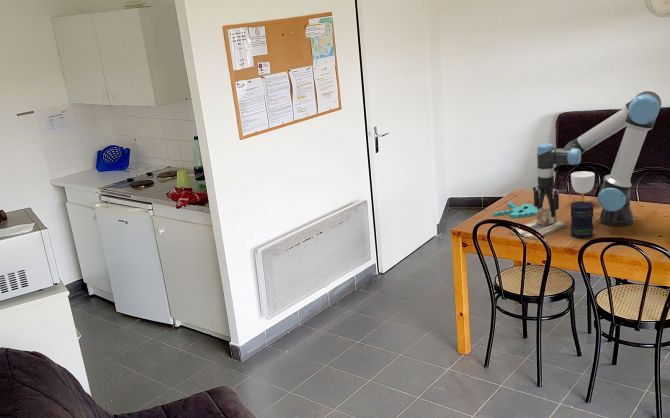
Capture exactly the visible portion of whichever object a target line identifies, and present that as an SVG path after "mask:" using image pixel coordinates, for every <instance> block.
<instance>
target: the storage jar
mask: <svg viewBox="0 0 670 418" xmlns="http://www.w3.org/2000/svg"><path fill="white" fill-rule="evenodd" d="M570 217H571V219H570V220H571V223H570V236H571V238H574V239H579V240H581V239H582V240H586V239H587V240H588V239H591V238H593V236H594V223H593V222H594V220H593V217H594V203H592V202H590V201H584V202H582V201H574V202H572V203H570Z"/></svg>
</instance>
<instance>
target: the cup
mask: <svg viewBox="0 0 670 418" xmlns="http://www.w3.org/2000/svg"><path fill="white" fill-rule="evenodd" d="M595 176H596V174H595V172H592V171H586V170H585V171H574V172H572V173H571V174H570V180H571V187H572V188H573V190H574V192H575V193H578V194H581V202H585V201H584V200H585V198H584V197H585V195H586V194H587V193H590V192H591V191H592V190H593V188H594V185H595V178H596V177H595Z"/></svg>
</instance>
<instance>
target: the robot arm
mask: <svg viewBox="0 0 670 418" xmlns="http://www.w3.org/2000/svg"><path fill="white" fill-rule="evenodd" d="M661 107H662V99H661V97H660V96H659V95H658V94H657V93H656V92H653V91H649V90H646V91H642V92H639V93H638V94H637V95H636V96H635V97H634V98H632V99H631V100H630V101H628V102H627V103H626V104H625V105H624V107H623V108H622V109H620V110H618V111H617V112H616V113H614V114H612V115H611V116H610V117H608V118H606V119H605V120H603V121H602V122H600V123H598V124H596V125H595V126H594V127H592V128H591V129H589V130H587V131H586V132H585V133H582V134H581V135H580V136H578V137H576V138H575V139H573V140H571V141H569V142H567V143H566V145H565V146H564V147H563V148H562V147H561V148H560V147H559V148H557V147H556V148H555V147H554V146H555V145H554V144H553V143H548V142H545V143H541V144H538V146H537V148H536V149H537V151H536V152H537V153H536V157H537V160H536V163H537V170H536V171H537V184H538V185H537V186H532V190H533V206H535V207H537V209H538V211H539V210H542V209H544V208H545V207H544V205H543V203H544V199H545V196H546V198H547V201H548V202H547V203H548V207H550V211H549V224H552V223H554V217H555V210H556V211H557V210H559V209H560V207H559V205H560V204H559V203H560V199H559V196H560V189H556V188H555V186H554V184H555V176H554V175H555V165H570V166H571V165H572V166H575V165H579V164H580V163H581V161H582V154H584V153H585V152H586V151H589V150H591V148H593V147H595V146H597V145H598V144H599V143H602V142H603V141H604V140H606V139H607V138H609V137H611V136H612V135H615V134H616V133H618V132H619V131H620V130H622V129H624V128H625V131H624V134H623V136H622V140H621V142H620V146H619V149H618V151H617V154H616V156H615V161H614V162H613V166H612V168H611V170H610V171H611V172H610V174H606V175H605V176H603V180H602V181H603V183H602V187H601V189H600V192H598V195H597V202H598V205H599V206H600V207H601V213H600V214H599V222H600V223H601V224H604V225H606V226H612V227H622V226H629V225H631V224H633V223H634V218H635V217H634V214H633V212H632V209H631V188H632V183H631V182H632V180H631V178H632V175H633V172H634V169H635V166H636V163H637V161H638V159H639V156H640V152H641V150H642V146H643V145H644V142H645V140H646V137H647V134H648V131H650V130H652V129H653V128H654V126H655V122H656V119H657V117H658V115H659V113H660V109H661Z"/></svg>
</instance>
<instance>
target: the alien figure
mask: <svg viewBox="0 0 670 418" xmlns="http://www.w3.org/2000/svg"><path fill="white" fill-rule="evenodd" d="M506 206H507V207H508V208H509V209H510V210H509V209H506V210H500V211H494V212H493V213H492V214H493V217H497V216H498V217H499V216H505V215H506V216H508V215H509V219H510V218H511V219H517V218H518V219H520V218H521V217H522V219H523V218H527V217H528V218H529V217H536V212H537V211H538V208H537V207H535V206H534V205H533V204H532V203H531V204H530V203H523V204H522V205H520V206H518V205H516V204H515V203H514V202H507V204H506Z"/></svg>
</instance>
